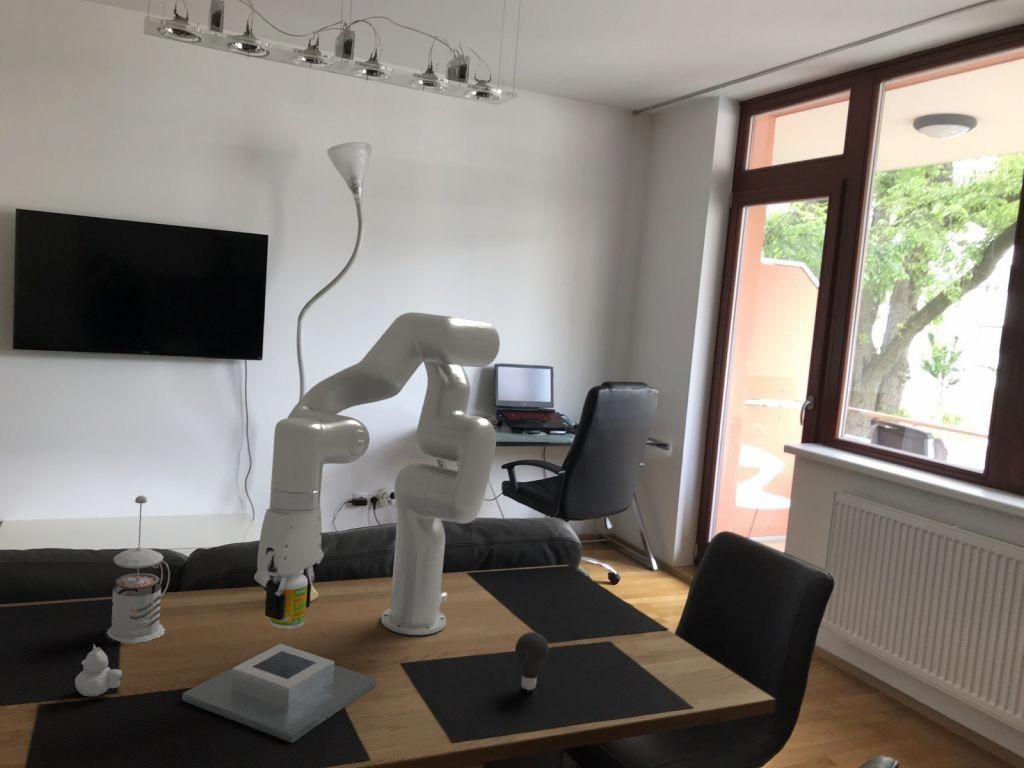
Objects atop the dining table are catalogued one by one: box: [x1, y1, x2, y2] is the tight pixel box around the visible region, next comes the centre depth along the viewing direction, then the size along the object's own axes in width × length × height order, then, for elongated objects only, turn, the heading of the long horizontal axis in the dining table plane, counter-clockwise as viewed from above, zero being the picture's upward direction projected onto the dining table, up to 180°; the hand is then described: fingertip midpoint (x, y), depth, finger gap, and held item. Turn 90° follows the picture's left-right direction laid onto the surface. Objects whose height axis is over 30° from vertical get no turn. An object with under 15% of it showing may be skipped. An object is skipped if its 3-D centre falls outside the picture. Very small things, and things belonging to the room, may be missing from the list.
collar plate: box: [182, 643, 377, 744], centre depth 134 cm, size 21×21×5 cm
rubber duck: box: [74, 644, 123, 697], centre depth 128 cm, size 5×7×8 cm
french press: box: [106, 495, 171, 643], centre depth 150 cm, size 10×12×25 cm
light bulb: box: [514, 631, 550, 691], centre depth 142 cm, size 6×6×10 cm
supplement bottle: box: [269, 569, 308, 630], centre depth 132 cm, size 5×5×10 cm
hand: (287, 610), depth 132 cm, fingers closed on supplement bottle, 5 cm apart
